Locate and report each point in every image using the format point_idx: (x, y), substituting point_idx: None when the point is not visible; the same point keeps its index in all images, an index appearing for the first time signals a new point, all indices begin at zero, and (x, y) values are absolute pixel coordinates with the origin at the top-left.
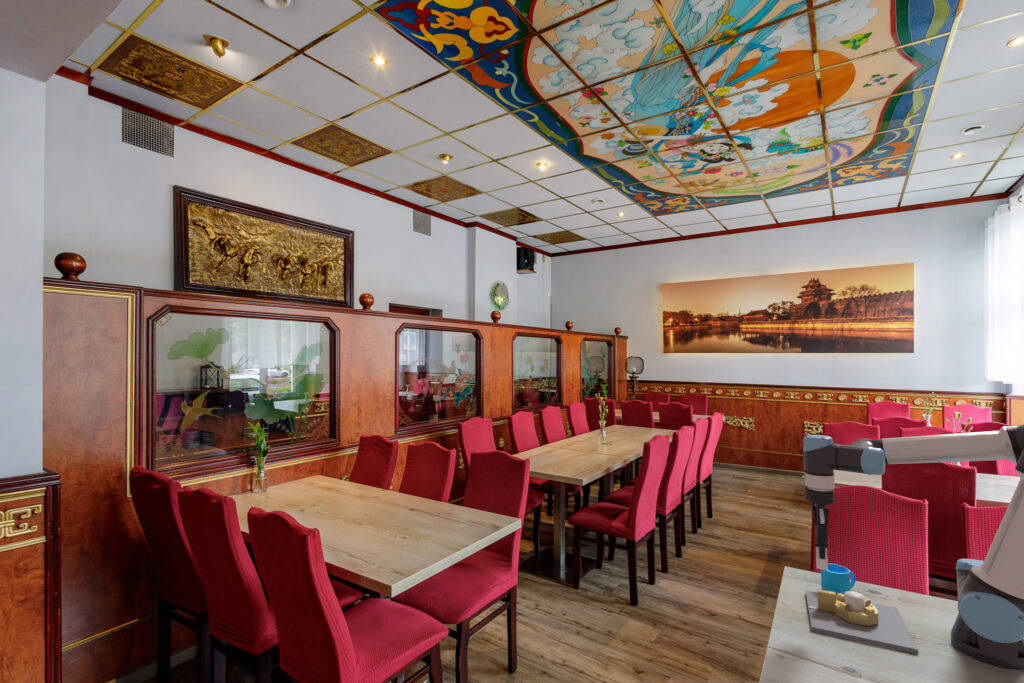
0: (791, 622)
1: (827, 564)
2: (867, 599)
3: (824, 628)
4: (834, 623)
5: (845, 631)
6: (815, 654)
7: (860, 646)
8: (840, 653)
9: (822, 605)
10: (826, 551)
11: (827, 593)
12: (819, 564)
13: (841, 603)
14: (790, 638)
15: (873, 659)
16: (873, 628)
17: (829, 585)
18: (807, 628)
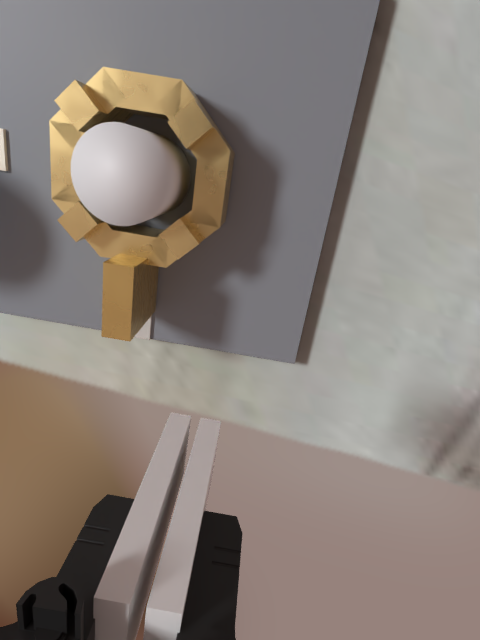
0: (251, 402)
1: (213, 454)
2: (78, 96)
3: (294, 325)
4: (243, 278)
5: (297, 256)
6: (442, 382)
7: (362, 222)
8: (424, 307)
9: (150, 303)
10: (190, 569)
11: (133, 302)
12: (208, 492)
13: (181, 251)
14: (358, 427)
15: (447, 205)
16: (239, 130)
17: None
18: (278, 365)
